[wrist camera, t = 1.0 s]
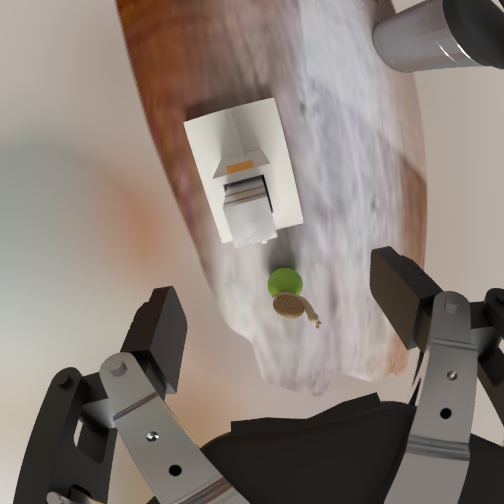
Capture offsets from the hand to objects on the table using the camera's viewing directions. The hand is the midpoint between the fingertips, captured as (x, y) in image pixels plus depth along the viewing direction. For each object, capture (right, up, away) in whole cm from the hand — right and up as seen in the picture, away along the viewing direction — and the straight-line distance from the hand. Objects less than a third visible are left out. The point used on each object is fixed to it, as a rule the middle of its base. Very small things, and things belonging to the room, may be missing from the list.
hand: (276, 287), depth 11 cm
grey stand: (-2, +13, +27) cm, 30 cm away
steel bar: (-2, +11, +24) cm, 27 cm away
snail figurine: (+5, -2, +35) cm, 36 cm away
